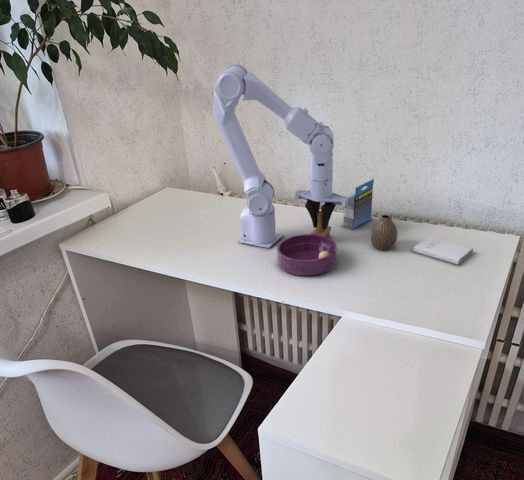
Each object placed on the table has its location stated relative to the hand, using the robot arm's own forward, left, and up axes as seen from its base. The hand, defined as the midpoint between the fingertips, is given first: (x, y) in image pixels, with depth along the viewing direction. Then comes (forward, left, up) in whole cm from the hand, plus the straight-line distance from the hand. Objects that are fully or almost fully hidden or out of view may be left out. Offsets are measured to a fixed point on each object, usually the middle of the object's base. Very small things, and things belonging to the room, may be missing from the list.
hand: (320, 227), depth 139 cm
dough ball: (+6, -12, -2) cm, 14 cm away
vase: (+17, +3, -4) cm, 18 cm away
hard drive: (+32, +6, -4) cm, 33 cm away
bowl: (+2, -13, -4) cm, 14 cm away
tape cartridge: (+5, +15, -4) cm, 16 cm away
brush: (0, 0, -4) cm, 4 cm away
